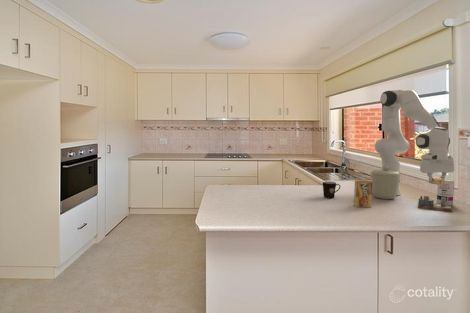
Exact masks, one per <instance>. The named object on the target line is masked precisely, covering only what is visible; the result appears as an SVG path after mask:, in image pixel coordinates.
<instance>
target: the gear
mask: <svg viewBox="0 0 470 313" xmlns="http://www.w3.org/2000/svg"><path fill="white" fill-rule="evenodd" d="M418 202H419V204H421V205H425V206H432V205H433V204H435V201H434V199H432V198H429V200H424V197H423V195H420V197H419V198H418Z"/></svg>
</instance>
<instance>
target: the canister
mask: <svg viewBox="0 0 470 313" xmlns="http://www.w3.org/2000/svg"><path fill="white" fill-rule="evenodd" d="M370 174H371V181H372V182H373V184H372V188H373V194H372V196H374V197H375V198H377V199H381V200H394V199H396V198H397V196H398V195H397V190H398V185H399V186H400V182H399V179H400V180H401V176H402V174H401V172H400V173H399V172H397V171H391V170H389V167H388V166H384V167H383V170H382V169H375V170H372V171H371V172H370Z"/></svg>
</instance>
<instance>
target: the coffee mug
mask: <svg viewBox="0 0 470 313" xmlns="http://www.w3.org/2000/svg"><path fill="white" fill-rule="evenodd" d="M337 186H339V187H338V188H337V190H336V187H337ZM340 189H341V184H339V183H337V182H336V181H328V180H326V181H322V193H323V198H324V199H331V200H332V199H335V193H337V192H338V191H339V190H340Z"/></svg>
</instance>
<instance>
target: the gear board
mask: <svg viewBox="0 0 470 313" xmlns="http://www.w3.org/2000/svg"><path fill="white" fill-rule="evenodd" d="M423 198H424V200H429V199H430V195H423ZM417 208H418V209H425V210H431V211H432V210H433V211H440V212H450V213H453V208H452V205H451V206H450V205H446V198H444V197H441V204H438V203H434V204H433V205H432V206H425V205H421V204H419V201H417Z"/></svg>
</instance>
